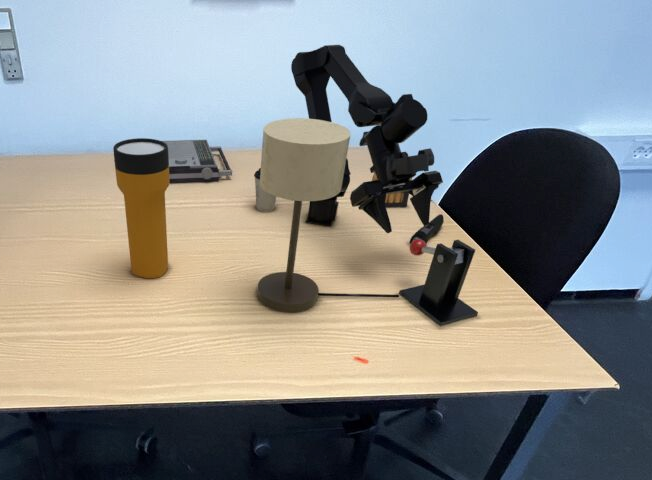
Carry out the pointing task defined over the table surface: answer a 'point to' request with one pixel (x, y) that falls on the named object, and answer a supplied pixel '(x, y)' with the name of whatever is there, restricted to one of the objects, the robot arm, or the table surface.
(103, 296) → the table surface
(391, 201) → the ammunition clip
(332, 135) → the desk lamp
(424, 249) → the lever
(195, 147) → the radio
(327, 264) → the table surface
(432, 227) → the electric trimmer
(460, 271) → the switch bracket
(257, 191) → the coffee cup
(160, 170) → the flashlight
